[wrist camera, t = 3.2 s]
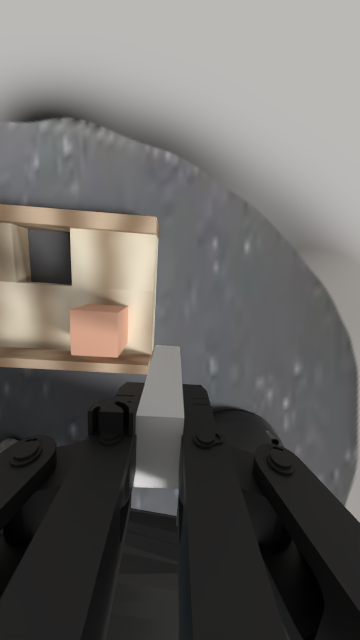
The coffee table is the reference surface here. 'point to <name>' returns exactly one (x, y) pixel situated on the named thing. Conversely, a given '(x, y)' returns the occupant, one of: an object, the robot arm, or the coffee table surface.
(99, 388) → the coffee table surface
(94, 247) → the box
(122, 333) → the terracotta block
